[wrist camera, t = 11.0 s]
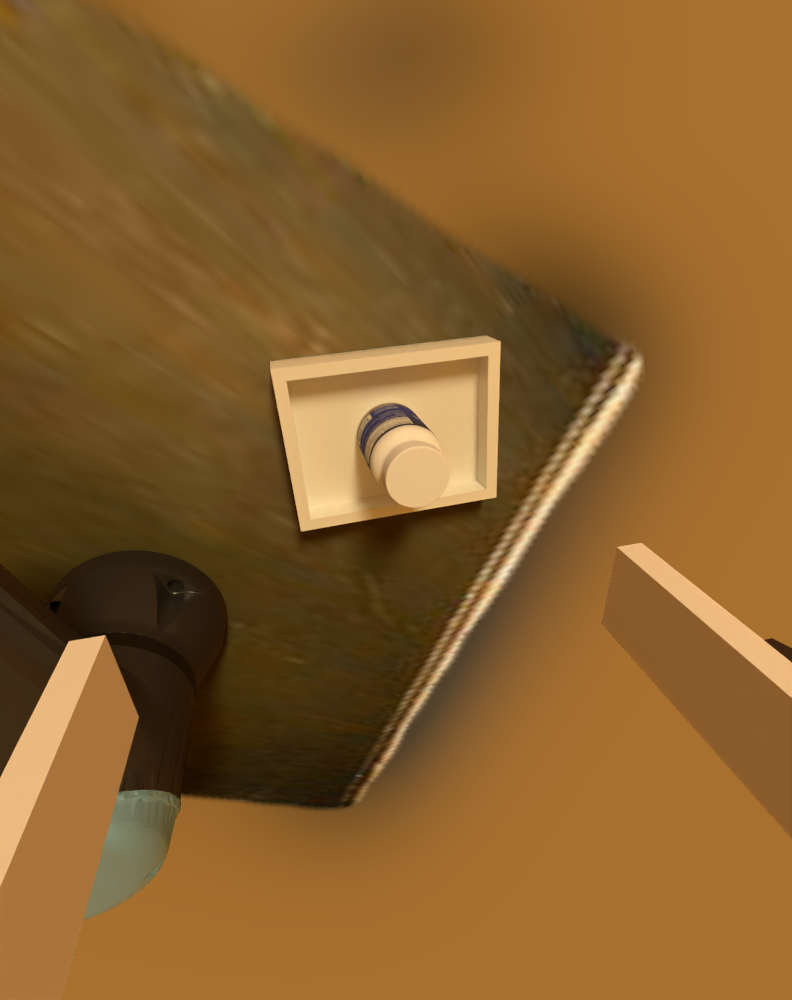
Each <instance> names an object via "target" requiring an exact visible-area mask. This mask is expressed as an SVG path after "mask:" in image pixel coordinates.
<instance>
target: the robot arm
mask: <svg viewBox="0 0 792 1000" xmlns="http://www.w3.org/2000/svg"><path fill="white" fill-rule="evenodd" d="M226 621H227V612H226V606H225V603H224V600H223V597H222V595H221V593H220V591H219V590H218V588H217V587H216V585H215V584H214V583H213V582H212V581H211V580H210V579H209V577H207V576H206V575H205V574H204V573H203V572H201V571H200V570H199V569H197V568H196V567H194V566H193V565H191V564H189V563H187V562H185V561H183V560H180V559H178V558H175V557H172V556H169V555H165V554H161V553H156V552H149V551H121V552H114V553H109V554H105V555H101V556H98V557H96V558H93V559H91V560H88V561H86V562H84V563H82V564H81V565H79V566H77V567H76V568H74V569H73V570H72V571H70V572H69V573H68V574H67V575H66V576H65V577H64V578H63V579H62V580H61V581H60V583H59V584H58V585H57V587H56V588H55V590H54V592H53V593H52V595H51V597H50V598H49V600H48V602H47V603H46V605H45V604H44V603H43V602H42V601H41V600H40V599H39V598H37V597H36V596H35V595H34V594H33V593H32V592H31V591H30V590H28V589H27V588H26V587H25V586H24V585H23V584H22V583H21V582H20V581H18V580H17V579H16V578H15V577H14V576H13V575H12V574H11V573H10V572H9V571H8V570H7V569H5V568H4V567H3V566H2V565H1V564H0V1000H61V999H62V996H63V992H64V989H65V985H66V981H67V978H68V974H69V970H70V967H71V963H72V960H73V956H74V952H75V948H76V945H77V941H78V938H79V934H80V930H81V927H82V923H83V920H85V919H88V918H91V917H94V916H96V915H98V914H101V913H104V912H106V911H108V910H110V909H112V908H114V907H116V906H118V905H120V904H121V903H123V902H124V901H126V900H128V899H130V898H131V897H133V896H134V895H135V894H137V893H138V892H139V891H140V890H142V889H143V888H144V887H145V886H146V885H147V884H148V883H149V882H150V881H151V880H152V879H153V877H154V876H155V875H156V874H157V872H158V871H159V870H160V868H161V866H162V864H163V862H164V860H165V858H166V855H167V852H168V849H169V844H170V839H171V835H172V831H173V826H174V822H175V819H176V818H177V815H178V813H179V812H180V806H181V802H180V797H181V791H182V784H183V777H184V770H185V763H186V756H187V749H188V742H189V735H190V728H191V722H192V715H193V708H194V700H195V694H196V690H197V688H198V687H199V685H200V684H201V682H202V680H203V679H204V677H205V676H206V674H207V672H208V671H209V669H210V667H211V665H212V664H213V662H214V661H215V660H216V658H217V656H218V655H219V652H220V650H221V648H222V645H223V642H224V637H225V630H226ZM602 625H603V626H604V627H605V628H606V629H607V630H608V631H609V633H610V634H611V635H612V636H613V637H614V638H615V639H616V641H617V642H618V643H619V644H620V645H621V646H622V647H623V648H624V650H625V651H626V652H627V653H628V654H629V655H630V656H631V657H632V658H633V660H634V661H635V662H636V663H637V664H638V665H639V667H640V668H641V669H642V670H643V671H644V672H645V673H646V675H647V676H648V677H649V678H650V679H651V680H652V681H653V682H654V683H655V685H656V686H657V687H658V688H659V689H660V690H661V692H662V693H663V694H664V695H665V696H666V697H667V698H668V699H669V700H670V702H671V703H672V704H673V705H674V706H675V707H676V708H677V710H678V711H679V712H680V713H681V714H682V715H683V716H684V718H685V719H686V720H687V721H688V722H689V723H690V724H691V725H692V726H693V728H694V729H695V730H696V731H697V732H698V733H699V735H701V737H702V738H703V739H704V740H705V741H706V742H707V743H708V745H709V746H710V747H711V748H712V749H713V750H714V751H715V753H716V754H717V755H718V756H719V757H720V758H721V759H722V760H723V762H724V763H725V764H726V765H727V766H728V767H729V768H730V770H731V771H732V772H733V773H734V774H735V775H736V776H737V777H738V778H739V780H740V781H741V782H742V783H743V784H744V785H745V787H746V788H747V789H748V790H749V791H750V792H751V793H752V795H753V796H754V797H755V798H756V799H757V800H758V801H759V802H760V804H761V805H762V806H763V807H764V808H765V809H766V810H767V811H768V813H769V814H770V815H771V816H772V817H773V818H774V819H775V821H776V822H777V823H778V824H779V825H780V826H781V827H782V828H783V830H784V831H785V832H786V833H787V834H788V835H789V836H790V838H791V839H792V648H790V647H788V646H786V645H784V644H782V643H780V642H778V641H776V640H774V639H772V638H771V639H767V640H763V639H762V638H760V637H759V636H758V635H757V634H755V633H754V632H753V631H752V630H750V629H749V628H748V627H747V626H745V625H744V624H743V623H741V622H740V621H739V620H738V619H736V618H735V617H734V616H733V615H731V614H730V613H729V612H728V611H726V610H725V609H724V608H723V607H721V606H720V605H719V604H718V603H716V602H715V601H714V600H713V599H711V598H710V597H709V596H708V595H706V594H705V593H704V592H702V591H701V590H700V589H699V588H697V587H696V586H695V585H694V584H692V583H691V582H690V581H688V580H687V579H686V578H685V577H684V576H682V575H681V574H680V573H679V572H677V571H676V570H675V569H673V568H672V567H671V566H670V565H669V564H667V563H666V562H665V561H664V560H662V559H661V558H660V557H658V556H657V555H656V554H655V553H653V552H652V551H651V550H650V549H648V548H647V547H646V546H645V545H643V544H642V543H639V544H633V545H627V546H621V547H617V550H616V554H615V559H614V564H613V569H612V574H611V579H610V584H609V589H608V594H607V599H606V604H605V609H604V614H603V619H602Z"/></svg>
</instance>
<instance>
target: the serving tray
mask: <svg viewBox="0 0 792 1000" xmlns="http://www.w3.org/2000/svg"><path fill="white" fill-rule="evenodd" d="M500 343H501V341H498V340H496V339H493V338H491V337H489V336H478V337H469V338H461V339H452V340H444V341H435V342H427V343H418V344H410V345H402V346H393V347H385V348H376V349H368V350H359V351H351V352H342V353H334V354H326V355H317V356H309V357H300V358H292V359H283V360H275V361H270V371H271V376H272V381H273V386H274V392H275V397H276V402H277V408H278V413H279V418H280V423H281V429H282V434H283V439H284V444H285V450H286V455H287V460H288V466H289V471H290V476H291V481H292V487H293V492H294V497H295V502H296V508H297V513H298V518H299V524H300V529H301V532H302V531H307V530H313V529H319V528H324V527H330V526H336V525H341V524H347V523H353V522H359V521H364V520H370V519H376V518H381V517H387V516H393V515H398V514H404V513H410V512H415V511H421V510H427V509H432V508H438V507H444V506H450V505H455V504H461V503H467V502H472V501H478V500H484V499H489V498H495V497H496V488H497V452H498V416H499V379H500ZM386 402H396V403H400V404H403V405H405V406H407V407H409V408H410V409H411V410H412V411H413V412H414V413H415V414H416V415H417V416H418V417H419V418H420V419H421V421H422V422H423V423H424V424H425V425H426V426H427V427H428V428H429V429H430V430H431V431H432V433H433V434H434V435H435V436H436V437H437V439H438V440H439V442H440V443H441V446H442V448H443V452H444V457H445V458H446V460H447V462H448V465H449V469H450V477H449V482H448V485H447V487H446V489H445V491H444V492H443V494H442V495H441V496H440V497H439V498H438V499H437V500H436V501H434V502H433V503H431V504H429V505H427V506H424V507H419V508H409V507H405V506H402V505H400V504H398V503H397V502H395V501H394V500H393V499H392V498H391V497H390V495H389V494H388V493H387V492H385V491H384V490H383V489H381V488H380V487H379V486H378V484H377V483H376V482H375V480H374V478H373V477H372V474H371V472H370V470H369V468H368V466H367V464H366V462H365V460H364V458H363V456H362V454H361V452H360V449H359V447H358V443H357V428H358V425H359V422H360V420H361V419H362V417H363V416H364V414H365V413H366V412H367V411H369V410H370V409H371V408H373V407H374V406H376V405H378V404H381V403H386Z"/></svg>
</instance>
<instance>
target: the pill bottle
mask: <svg viewBox="0 0 792 1000" xmlns="http://www.w3.org/2000/svg"><path fill="white" fill-rule="evenodd" d="M357 443H358V447H359V449H360V452H361V454H362V456H363V458H364V460H365V462H366V464H367V466H368V468H369V470H370V472H371V474H372V477H373V478H374V480H375V482H376V483H377V484H378V486H379V487H380V488H381V489H383V490H384V491H385V492H387V493H388V494H389V495H390V497H391V498H392V499H393V500H394V501H395V502H397V503H398V504H400V505H402V506H405V507H409V508H419V507H424V506H427V505H429V504H431V503H433V502H434V501H436V500H437V499H438V498H439V497H440V496H441V495H442V494H443V492H444V491H445V489H446V487H447V485H448V482H449V477H450V469H449V465H448V462H447V460H446V458H445V457H444V452H443V448H442V446H441V443H440V442H439V440H438V439H437V437H436V436H435V435H434V434H433V433H432V431H431V430H430V429H429V428H428V427H427V426H426V425H425V424H424V423H423V422H422V421H421V419H420V418H419V417H418V416H417V415H416V414H415V413H414V412H413V411H412V410H411V409H410V408H409V407H407V406H405V405H403V404H400V403H396V402H386V403H381V404H378V405H376V406H374V407H373V408H371V409H370V410H369V411H367V412H366V413H365V414H364V416H363V417H362V419H361V420H360V422H359V425H358V428H357Z"/></svg>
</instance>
